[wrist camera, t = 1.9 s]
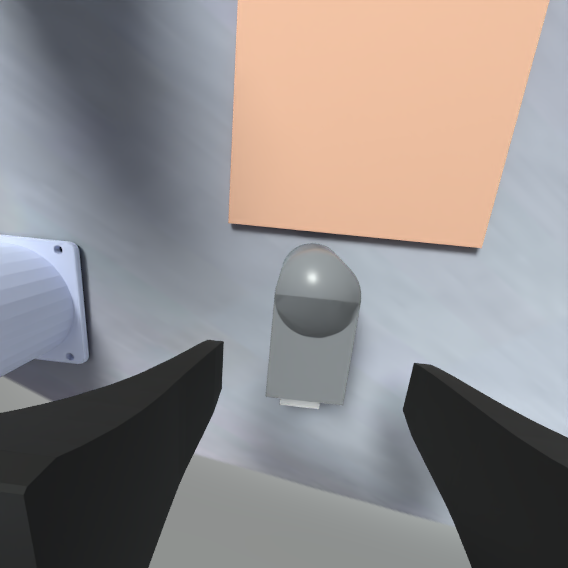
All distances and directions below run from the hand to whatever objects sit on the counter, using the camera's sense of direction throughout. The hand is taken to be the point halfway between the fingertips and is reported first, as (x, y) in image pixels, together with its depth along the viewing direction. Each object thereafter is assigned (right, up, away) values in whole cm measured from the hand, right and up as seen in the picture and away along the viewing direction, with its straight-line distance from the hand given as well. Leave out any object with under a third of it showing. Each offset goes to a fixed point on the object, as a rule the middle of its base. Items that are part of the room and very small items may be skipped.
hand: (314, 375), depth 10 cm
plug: (0, +2, +7) cm, 7 cm away
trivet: (+3, +13, +4) cm, 14 cm away
